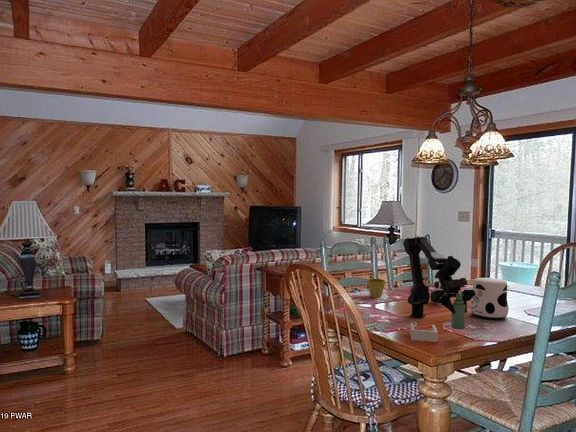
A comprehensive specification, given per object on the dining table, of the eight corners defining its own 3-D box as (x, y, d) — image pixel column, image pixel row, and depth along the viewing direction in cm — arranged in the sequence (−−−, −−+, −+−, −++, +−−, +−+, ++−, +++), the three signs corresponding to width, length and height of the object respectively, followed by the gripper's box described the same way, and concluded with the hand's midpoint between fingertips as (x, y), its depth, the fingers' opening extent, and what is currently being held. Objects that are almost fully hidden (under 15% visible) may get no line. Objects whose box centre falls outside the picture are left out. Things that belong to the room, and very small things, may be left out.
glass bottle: (452, 324, 193) (453, 291, 192) (465, 327, 190) (466, 293, 189) (450, 328, 188) (451, 294, 187) (463, 330, 186) (464, 295, 185)
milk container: (462, 313, 228) (463, 278, 227) (487, 310, 235) (488, 276, 234) (490, 323, 212) (491, 285, 211) (516, 319, 219) (517, 283, 218)
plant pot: (388, 297, 260) (389, 281, 260) (374, 299, 256) (374, 282, 255) (377, 293, 269) (378, 277, 269) (363, 295, 265) (363, 279, 264)
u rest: (409, 332, 196) (410, 323, 196) (434, 334, 194) (434, 325, 194) (411, 339, 186) (411, 330, 186) (437, 342, 184) (437, 332, 184)
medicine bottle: (430, 302, 251) (431, 281, 250) (439, 300, 254) (440, 280, 254) (439, 305, 245) (440, 283, 244) (449, 303, 248) (450, 282, 247)
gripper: (434, 271, 190) (448, 303, 179) (473, 270, 194) (489, 302, 183) (424, 286, 198) (437, 317, 188) (462, 284, 202) (476, 315, 192)
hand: (460, 313), depth 187 cm, fingers closed on glass bottle, 5 cm apart
